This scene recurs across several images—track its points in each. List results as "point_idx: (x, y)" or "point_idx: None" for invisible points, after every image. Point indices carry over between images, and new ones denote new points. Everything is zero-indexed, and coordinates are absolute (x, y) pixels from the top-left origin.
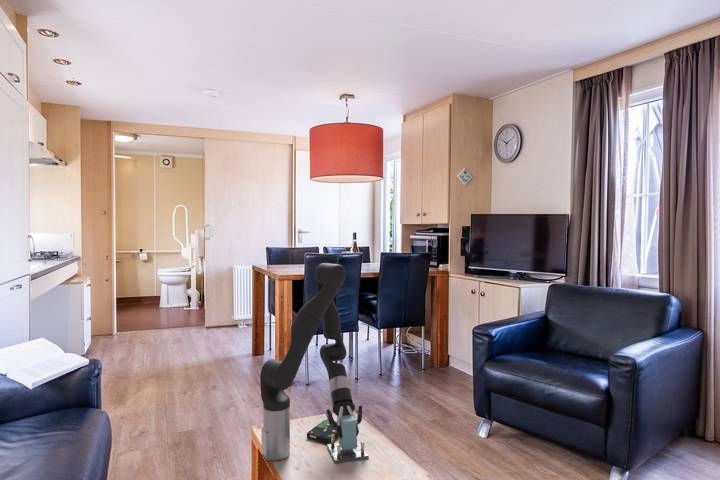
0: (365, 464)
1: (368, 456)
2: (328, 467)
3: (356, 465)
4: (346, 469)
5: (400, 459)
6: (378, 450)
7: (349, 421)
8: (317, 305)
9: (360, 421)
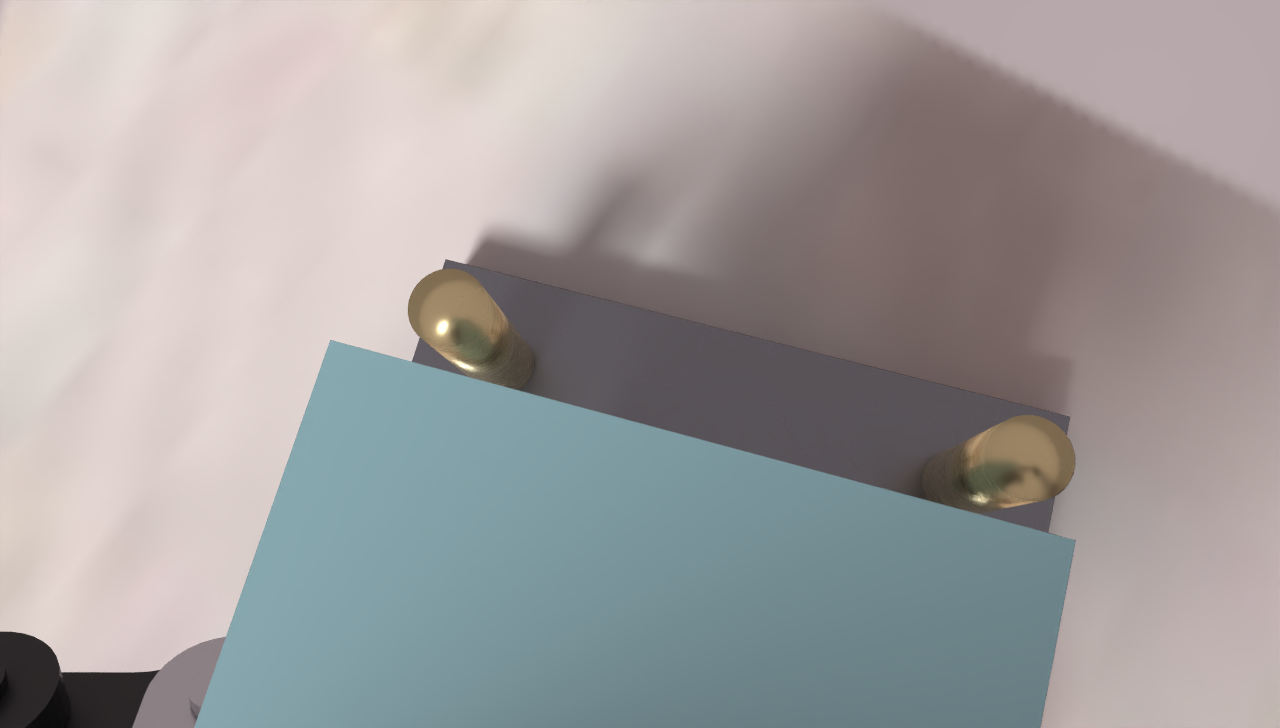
0: (611, 148)
1: (451, 266)
2: (1215, 376)
3: (754, 194)
4: (961, 172)
5: (74, 10)
6: (151, 414)
7: (689, 438)
8: None
9: (35, 639)
